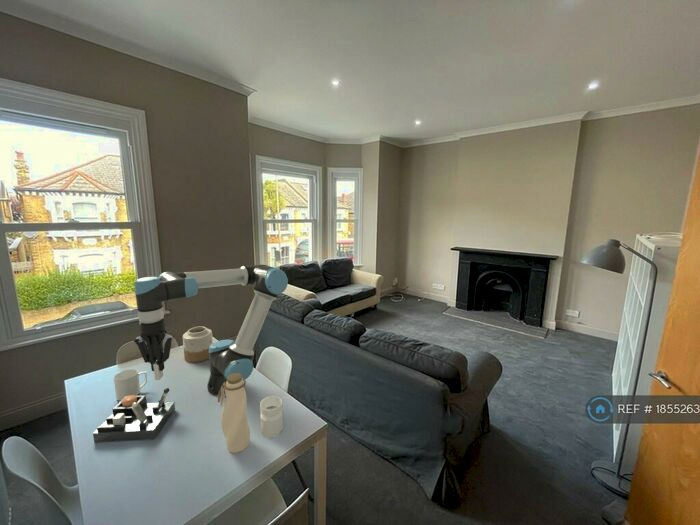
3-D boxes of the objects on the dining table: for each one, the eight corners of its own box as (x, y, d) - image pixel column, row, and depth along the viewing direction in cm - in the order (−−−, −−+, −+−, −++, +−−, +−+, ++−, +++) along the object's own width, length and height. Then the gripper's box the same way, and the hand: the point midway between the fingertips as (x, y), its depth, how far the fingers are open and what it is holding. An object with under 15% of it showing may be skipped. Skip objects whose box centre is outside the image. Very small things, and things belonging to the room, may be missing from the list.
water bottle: (222, 459, 100) (217, 388, 95) (220, 441, 108) (215, 374, 103) (252, 449, 105) (249, 380, 100) (248, 432, 113) (245, 367, 108)
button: (140, 403, 121) (139, 394, 120) (133, 411, 116) (131, 402, 115) (127, 403, 120) (126, 395, 119) (120, 411, 115) (119, 403, 115)
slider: (125, 422, 111) (124, 413, 110) (120, 427, 108) (119, 418, 108) (118, 422, 111) (117, 413, 110) (113, 428, 108) (112, 418, 107)
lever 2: (164, 403, 121) (171, 387, 120) (160, 408, 118) (168, 391, 117) (159, 402, 120) (166, 385, 119) (155, 406, 118) (163, 389, 117)
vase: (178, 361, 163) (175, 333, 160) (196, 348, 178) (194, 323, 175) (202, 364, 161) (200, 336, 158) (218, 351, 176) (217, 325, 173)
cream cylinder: (259, 424, 117) (258, 398, 115) (280, 419, 120) (280, 393, 118) (261, 440, 109) (260, 412, 107) (284, 433, 113) (284, 406, 110)
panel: (175, 409, 125) (174, 393, 123) (154, 439, 108) (152, 421, 107) (123, 411, 122) (121, 396, 121) (94, 442, 106) (91, 425, 105)
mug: (117, 405, 126) (114, 382, 124) (115, 395, 133) (112, 373, 131) (150, 393, 134) (147, 372, 132) (146, 385, 141) (144, 364, 139)
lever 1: (148, 417, 112) (138, 399, 110) (144, 422, 109) (134, 404, 107) (144, 419, 112) (133, 401, 110) (139, 424, 109) (128, 406, 107)
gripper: (175, 315, 108) (182, 371, 113) (139, 316, 107) (146, 373, 111) (165, 323, 101) (172, 383, 105) (125, 324, 99) (134, 384, 104)
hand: (159, 377), depth 108 cm, fingers closed
